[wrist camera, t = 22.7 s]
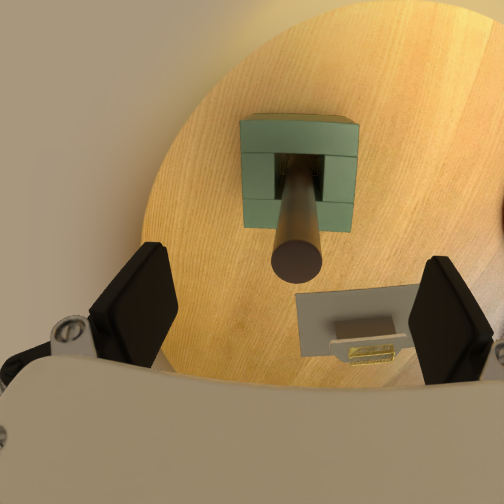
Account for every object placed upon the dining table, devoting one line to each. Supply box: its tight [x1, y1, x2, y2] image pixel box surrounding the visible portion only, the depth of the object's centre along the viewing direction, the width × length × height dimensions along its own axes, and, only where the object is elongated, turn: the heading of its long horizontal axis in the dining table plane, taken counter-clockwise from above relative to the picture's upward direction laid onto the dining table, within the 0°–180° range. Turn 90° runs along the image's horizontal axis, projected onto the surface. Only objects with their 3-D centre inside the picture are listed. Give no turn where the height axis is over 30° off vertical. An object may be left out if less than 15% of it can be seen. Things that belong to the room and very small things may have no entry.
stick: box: [271, 153, 322, 284], centre depth 22 cm, size 2×2×20 cm
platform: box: [295, 284, 420, 366], centre depth 37 cm, size 12×18×7 cm, turn 100°
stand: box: [240, 113, 359, 232], centre depth 27 cm, size 9×9×8 cm
